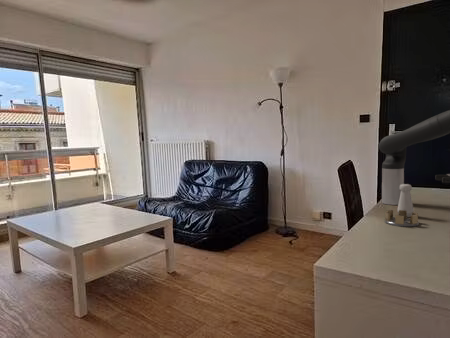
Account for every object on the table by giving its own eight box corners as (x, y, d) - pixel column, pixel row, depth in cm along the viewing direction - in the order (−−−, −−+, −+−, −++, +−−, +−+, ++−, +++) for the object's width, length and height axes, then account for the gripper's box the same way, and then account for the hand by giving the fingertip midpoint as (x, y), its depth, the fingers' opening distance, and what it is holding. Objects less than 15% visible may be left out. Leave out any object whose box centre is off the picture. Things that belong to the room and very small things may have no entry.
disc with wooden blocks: (387, 218, 120) (387, 208, 120) (419, 221, 113) (419, 211, 113) (382, 224, 111) (382, 214, 111) (417, 228, 105) (417, 217, 104)
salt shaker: (415, 215, 122) (415, 184, 121) (412, 218, 118) (412, 185, 117) (399, 213, 126) (399, 183, 125) (395, 216, 122) (395, 184, 121)
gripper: (482, 167, 118) (433, 167, 123) (500, 170, 104) (445, 170, 110) (482, 186, 118) (433, 186, 124) (500, 191, 105) (444, 191, 111)
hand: (438, 178), depth 117 cm, fingers open, 8 cm apart
